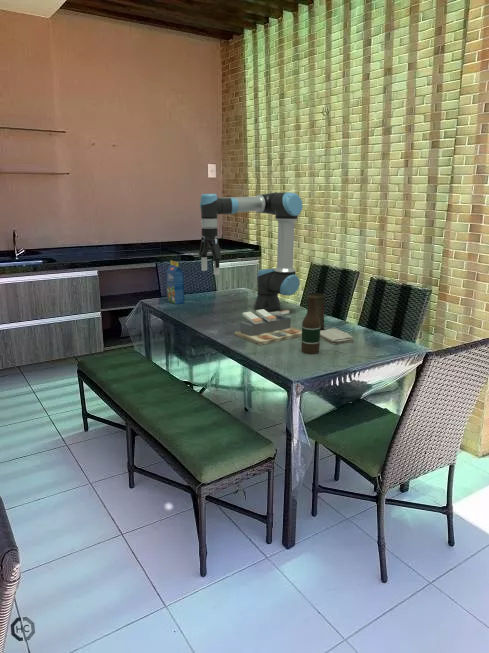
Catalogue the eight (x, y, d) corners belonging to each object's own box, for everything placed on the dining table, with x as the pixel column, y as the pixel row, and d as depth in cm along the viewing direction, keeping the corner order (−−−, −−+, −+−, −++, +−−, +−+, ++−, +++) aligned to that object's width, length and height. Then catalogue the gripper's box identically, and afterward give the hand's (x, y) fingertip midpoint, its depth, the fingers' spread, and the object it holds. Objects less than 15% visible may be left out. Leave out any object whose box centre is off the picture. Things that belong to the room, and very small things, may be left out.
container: (313, 334, 236) (314, 297, 231) (302, 329, 244) (303, 293, 239) (328, 331, 240) (330, 295, 235) (317, 327, 248) (318, 291, 243)
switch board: (280, 325, 250) (280, 322, 250) (307, 334, 235) (307, 331, 234) (234, 335, 235) (234, 331, 234) (260, 345, 219) (260, 341, 218)
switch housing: (279, 324, 247) (280, 314, 246) (290, 327, 241) (290, 317, 240) (240, 332, 234) (240, 322, 232) (250, 336, 227) (250, 325, 226)
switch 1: (249, 315, 236) (250, 310, 235) (262, 324, 229) (262, 319, 228) (242, 316, 234) (242, 312, 233) (254, 326, 227) (255, 321, 226)
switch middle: (262, 313, 241) (263, 308, 240) (275, 322, 234) (276, 317, 233) (255, 314, 238) (256, 309, 237) (268, 323, 231) (269, 318, 230)
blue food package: (175, 304, 297) (173, 262, 291) (167, 300, 307) (165, 260, 301) (184, 303, 300) (183, 262, 294) (176, 299, 310) (175, 259, 304)
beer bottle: (299, 348, 214) (301, 294, 208) (317, 348, 215) (319, 293, 209) (303, 354, 207) (304, 298, 200) (321, 354, 207) (323, 297, 201)
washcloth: (333, 346, 219) (334, 339, 219) (311, 335, 235) (312, 329, 234) (355, 342, 224) (356, 336, 223) (332, 332, 240) (333, 326, 239)
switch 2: (276, 315, 245) (275, 310, 245) (289, 315, 237) (288, 309, 237) (269, 317, 243) (268, 312, 243) (282, 316, 235) (281, 311, 235)
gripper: (191, 226, 243) (192, 269, 248) (213, 229, 222) (214, 276, 228) (205, 225, 246) (206, 268, 252) (228, 229, 225) (229, 275, 231)
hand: (210, 272), depth 240 cm, fingers open, 13 cm apart
